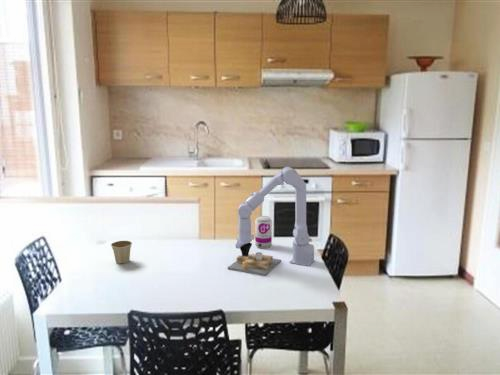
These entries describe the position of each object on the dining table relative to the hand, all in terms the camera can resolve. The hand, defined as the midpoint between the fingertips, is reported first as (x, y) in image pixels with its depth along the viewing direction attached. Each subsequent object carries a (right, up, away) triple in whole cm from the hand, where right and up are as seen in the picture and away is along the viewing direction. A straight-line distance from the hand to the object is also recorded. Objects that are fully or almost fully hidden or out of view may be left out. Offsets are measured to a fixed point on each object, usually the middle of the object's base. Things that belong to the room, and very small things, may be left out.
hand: (245, 258), depth 197 cm
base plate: (+4, -3, -3) cm, 6 cm away
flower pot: (-57, -2, +4) cm, 57 cm away
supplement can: (+9, +2, +22) cm, 24 cm away
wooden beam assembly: (+4, -2, -3) cm, 5 cm away
